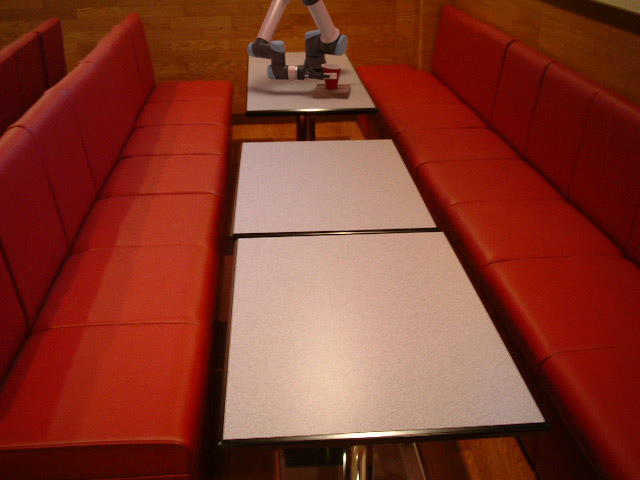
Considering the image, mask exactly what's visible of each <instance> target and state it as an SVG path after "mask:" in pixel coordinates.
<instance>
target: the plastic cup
mask: <svg viewBox="0 0 640 480" xmlns="http://www.w3.org/2000/svg"><path fill="white" fill-rule="evenodd" d="M321 66H322V69H323V73H322V74H324V73H337V79H324V80H323V81H324V84H325V85H326V89H330V90H332V89H337V86H338V84H339V80H340V75H341V71H342V68H343V66H342V65H341V64H337V63H330V62H329V63H328V62H327V64H322V65H321Z"/></svg>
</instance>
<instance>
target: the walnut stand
mask: <svg viewBox="0 0 640 480" xmlns="http://www.w3.org/2000/svg"><path fill="white" fill-rule="evenodd" d="M351 87H352V85H351V84H350V83H338V86H337V89H332V90H330V89H326V85H325V83H316V86H314V90H313V92H312V98H313V99H323V100H326V99H327V100H329V98H330V99H331V98H335V99H336V100H341V99H342V100H346V99H347V100H348V99H349V97H350V93H351V90H352V88H351ZM335 99H334V100H335Z"/></svg>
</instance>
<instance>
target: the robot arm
mask: <svg viewBox="0 0 640 480" xmlns="http://www.w3.org/2000/svg"><path fill="white" fill-rule="evenodd" d="M300 1H301V3H302V5H303V6H305V7H307V8H308V9H307V10H308V11H309V12H310V15H311V17H312V18H313V21H314V23H315V25H316V27H317V28H318V29H316V30H310V31H307V32H305V34H304V50H305V51H304V52H305V56H304V57H305V58H304V61H303V64H299V65H297V64H286V63H287V61H286V46H285V41H283V40H272V39H273V38H274V35H275V32H276V29H277V27H278V25H279V23H280V21H281V18H282V15H283V14H284V12H285V9H286V6H287V5H288V4H290V3H291V0H272V1H271V3H270V5H269V7H268V10H267V13H266V15H265V16H264V20H263V22H262V24H261V27H260V28H259V31H258V33H257V36H256V38H255V41H251V42H250V43H249V44H248V45H247V54H248V55H249V56H250V57H253V58H257V59H258V58H259V59H264V60H270V64H269V65H268V66H267V73H266V75H267V78H268V79H270V80H276V81H280V80H281V81H285V80H289V81H296V80H298V81H304V80H306V79H312V80H318V81H322V82H323V81H325V80H324V79H337V73H324V74H323V69H322V66H321V65H322V64H327V63H328V61H327V59H326V55H328V56H329V55H330V56H335V57H339V56H343V55H344V54H346V51H347V49H348V44H349V40H348V37H347V36H346V35H345V34H342V33H341V31H340V30H339V29H338V28H337V27H335V25H334V23H333V21H332V19H331V16H330V15H329V11H328V10H327V7H326V6H325V3H324V1H323V0H300Z"/></svg>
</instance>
